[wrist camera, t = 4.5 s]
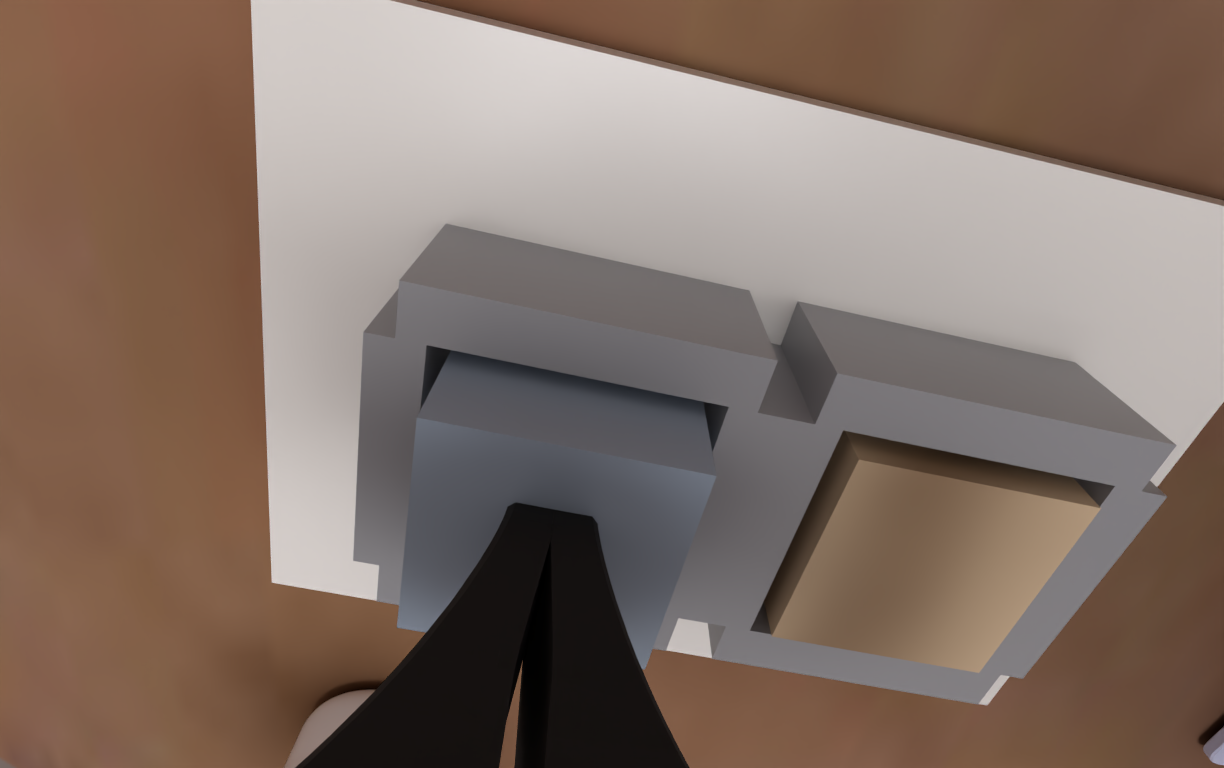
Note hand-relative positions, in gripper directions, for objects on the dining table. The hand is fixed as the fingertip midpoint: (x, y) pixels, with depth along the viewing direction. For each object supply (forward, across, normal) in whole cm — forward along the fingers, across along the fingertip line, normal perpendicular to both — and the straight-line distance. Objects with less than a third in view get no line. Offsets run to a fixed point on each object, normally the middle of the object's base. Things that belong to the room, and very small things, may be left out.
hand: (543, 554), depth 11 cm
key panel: (+6, -4, 0) cm, 7 cm away
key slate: (+2, 0, 0) cm, 2 cm away
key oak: (+4, -7, 0) cm, 8 cm away
